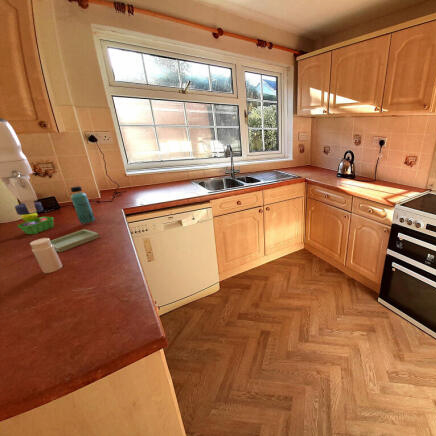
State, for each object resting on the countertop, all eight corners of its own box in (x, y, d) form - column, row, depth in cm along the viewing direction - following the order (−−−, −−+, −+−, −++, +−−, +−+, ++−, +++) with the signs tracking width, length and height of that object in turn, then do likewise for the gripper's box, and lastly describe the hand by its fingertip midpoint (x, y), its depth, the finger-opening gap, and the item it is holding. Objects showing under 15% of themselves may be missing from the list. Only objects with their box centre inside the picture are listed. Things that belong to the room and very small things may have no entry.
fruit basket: (32, 235, 117) (22, 214, 112) (18, 234, 118) (7, 213, 114) (58, 226, 127) (49, 205, 123) (45, 225, 129) (35, 205, 124)
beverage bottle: (78, 225, 127) (63, 188, 120) (91, 220, 133) (78, 185, 125) (86, 226, 125) (71, 189, 117) (99, 222, 131) (86, 185, 123)
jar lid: (48, 208, 86) (45, 201, 85) (32, 214, 81) (28, 207, 80) (29, 209, 86) (26, 202, 85) (12, 215, 80) (8, 207, 79)
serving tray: (59, 252, 100) (57, 248, 99) (45, 247, 105) (43, 242, 104) (99, 237, 113) (98, 233, 112) (85, 232, 118) (84, 229, 117)
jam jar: (47, 274, 85) (32, 246, 81) (39, 271, 88) (25, 243, 83) (65, 266, 90) (53, 239, 86) (58, 263, 92) (45, 236, 88)
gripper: (32, 171, 75) (50, 213, 80) (19, 165, 86) (36, 203, 91) (2, 175, 70) (23, 219, 75) (-7, 168, 81) (12, 207, 86)
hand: (30, 210), depth 83 cm, fingers closed on jar lid, 6 cm apart
